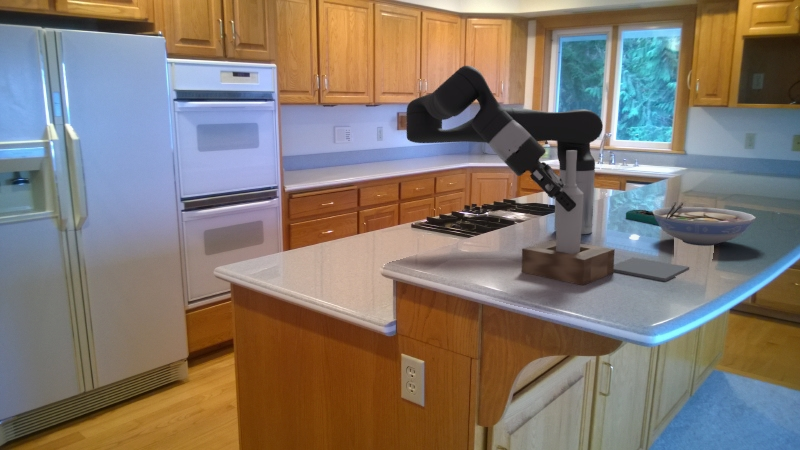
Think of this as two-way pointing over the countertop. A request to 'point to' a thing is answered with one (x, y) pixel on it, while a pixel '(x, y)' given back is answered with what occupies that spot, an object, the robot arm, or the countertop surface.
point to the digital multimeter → (642, 216)
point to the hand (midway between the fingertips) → (572, 205)
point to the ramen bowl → (702, 224)
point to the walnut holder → (568, 262)
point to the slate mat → (649, 269)
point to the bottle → (570, 221)
